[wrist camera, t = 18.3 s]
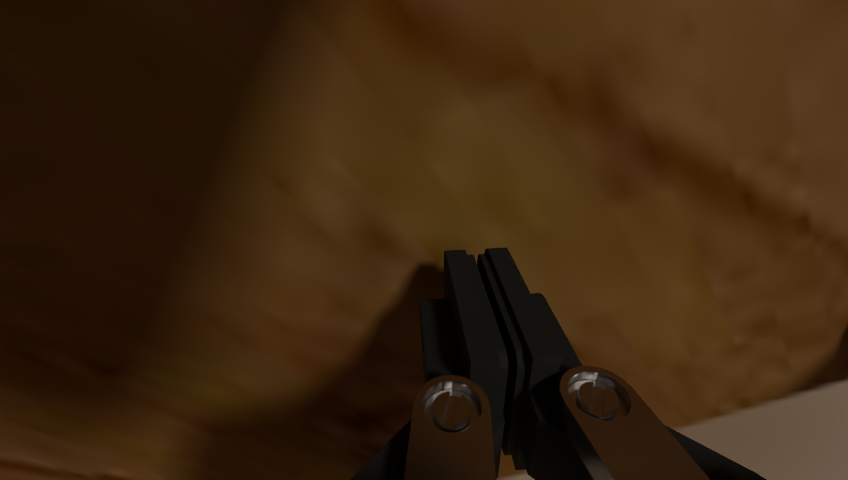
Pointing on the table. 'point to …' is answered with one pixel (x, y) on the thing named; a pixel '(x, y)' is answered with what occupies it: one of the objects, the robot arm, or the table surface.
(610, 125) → the table surface
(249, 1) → the table surface
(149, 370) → the table surface
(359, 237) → the table surface
